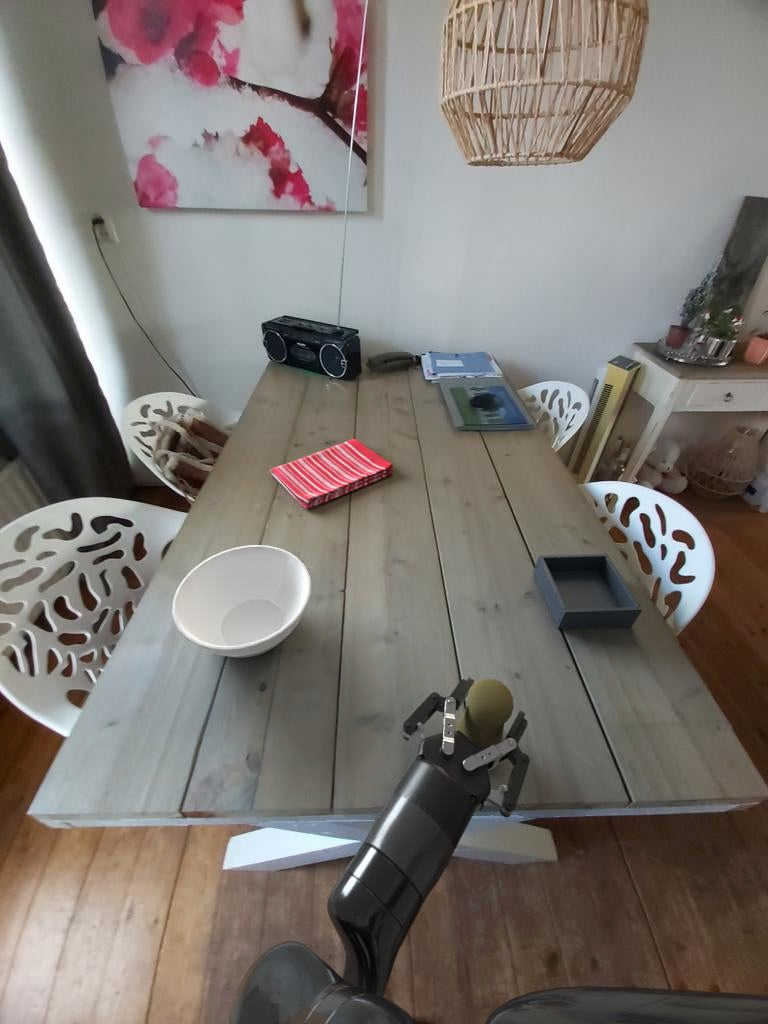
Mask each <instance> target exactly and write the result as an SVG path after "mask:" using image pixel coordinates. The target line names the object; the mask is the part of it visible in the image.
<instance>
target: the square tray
mask: <svg viewBox="0 0 768 1024" xmlns="http://www.w3.org/2000/svg"><path fill="white" fill-rule="evenodd" d="M532 573H533V576H534V578H535V579H536V583H537V585H538V587H539V589H540V591H541V594H542V596H543V599H544V601H545V603H546V606H547V608H548V610H549V613H550V615H551V617H552V619H553V622H554V624H555V627H556V629H557V630H575V629H578V630H579V629H602V628H603V629H604V628H605V629H607V628H631V627H633V626H634V624H635V622H636V621H637V619H639V616H640V615H641V613H642V611H643V609H642V607H641V605H640V604H639V602H638V600H637V599H636V598H635V595H634V594H633V593H632V591H631V589H630V587H629V586H628V585H627V583H626V582H625V580H624V579H623V577H622V575H621V574H620V572H619V570H618V569H617V568H616V565H615V564H614V562H613V561H612V560H611V558H610V556H609V554H608V553H588V554H587V553H586V554H584V553H583V554H547V555H546V554H545V555H542V554H541V555H538V557H537V560H536V563H535V566H534V569H533V571H532Z"/></svg>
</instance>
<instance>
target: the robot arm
mask: <svg viewBox="0 0 768 1024" xmlns="http://www.w3.org/2000/svg"><path fill="white" fill-rule="evenodd" d="M474 683H475V680H474V679H473V678H471V677H470V676H469V677H468V678H467V680H466V679H464V678H462V679H461V680H459V682H458V683H457V685H456V687H454V689H453V691H452V692H451V693H450V695H449V696H443V695H442V696H441V694H440V693H439V692H436V691H433V692H431V693H430V694H429V695H428V697H426V698H425V700H424V701H422V702H421V704H420V705H419V706H418V707H417V708H416V709H415V710H414V711H413V712H412V713H411V714H410V715H409V716H408V718H406V720H405V721H404V722H403V725H402V735H401V736H402V738H403V739H404V740H406V741H411V742H412V744H413V745H415V746H416V747H417V748H418V752H417V755H416V757H415V759H414V760H413V761H412V764H411V765H410V767H409V768H408V769H407V771H406V772H405V774H404V775H403V777H402V778H401V780H400V782H399V783H398V784H397V786H396V787H395V789H394V791H393V792H392V793H391V795H390V797H389V798H388V800H386V803H385V804H384V806H383V807H382V808H381V810H380V811H379V813H378V815H377V816H376V818H375V819H374V821H373V824H372V825H371V827H370V829H369V831H368V833H367V836H366V837H365V839H364V841H363V843H362V844H361V845H360V847H359V848H358V850H357V851H356V853H355V854H354V856H353V857H352V860H350V862H349V864H348V865H347V867H346V868H345V870H344V871H343V873H342V874H341V875H340V877H339V878H338V879H337V881H336V883H335V884H334V887H333V888H332V890H331V892H330V893H329V895H328V899H327V902H326V908H327V909H326V910H327V914H328V917H329V919H330V922H331V924H332V926H333V928H334V929H335V932H336V933H337V935H338V937H339V940H340V942H341V944H342V946H343V947H342V948H343V950H344V953H345V954H344V955H345V960H344V969H343V974H342V976H341V975H340V974H339V973H338V972H337V971H335V969H333V967H331V966H330V965H329V964H328V963H327V962H326V961H324V960H323V958H321V957H320V956H319V955H318V954H317V953H316V952H314V950H312V949H311V948H310V947H308V946H307V945H306V944H304V943H302V942H300V941H296V940H286V941H281V942H279V943H276V944H274V945H272V946H271V947H269V948H267V949H266V950H265V951H263V952H262V953H261V954H260V955H259V956H258V957H257V958H256V959H255V960H254V961H253V962H252V964H251V965H250V966H249V968H248V969H247V971H246V973H245V974H244V975H243V977H242V980H241V981H240V983H239V985H238V986H237V987H238V988H237V990H236V992H235V995H234V998H233V1000H232V1001H233V1002H232V1005H231V1010H230V1014H229V1021H228V1024H418V1022H417V1021H416V1020H415V1019H414V1018H413V1017H412V1016H411V1015H410V1014H409V1012H407V1011H406V1010H405V1009H403V1008H402V1007H401V1006H400V1005H398V1004H397V1003H396V1002H394V1001H392V1000H390V999H388V998H386V997H385V994H386V992H387V989H388V984H389V981H390V977H391V975H392V972H393V968H394V965H395V962H396V959H397V956H398V954H399V951H400V949H401V947H402V946H403V943H404V941H405V939H406V937H407V936H408V934H409V932H410V930H411V928H412V926H413V924H414V923H415V921H416V919H417V917H418V915H419V913H420V912H421V909H422V907H423V905H424V903H426V900H427V899H428V897H429V895H430V894H431V892H432V891H433V890H434V888H435V887H436V886H437V884H438V882H439V881H440V879H441V877H442V876H443V874H444V872H445V870H446V869H447V868H448V866H449V864H450V863H451V859H452V856H453V855H454V853H455V851H456V848H457V847H458V845H459V843H460V841H461V839H462V837H463V835H464V834H465V831H466V830H467V827H468V826H469V823H470V821H472V818H473V816H474V814H475V813H476V810H477V809H478V807H479V806H480V805H482V804H483V803H486V802H487V803H489V804H491V805H492V806H494V807H495V808H497V809H499V813H500V815H501V816H502V817H503V818H510V817H511V816H512V814H513V812H514V810H516V809H515V808H516V807H517V804H518V801H519V797H520V794H521V792H522V788H523V784H524V782H525V779H526V775H527V772H528V769H529V766H530V762H531V759H530V757H529V755H528V754H527V753H525V752H523V751H522V750H521V749H520V746H519V743H520V741H521V739H522V738H523V735H524V733H525V731H526V729H527V727H528V719H526V718H525V716H526V713H525V712H524V711H522V710H519V711H518V713H517V715H516V717H515V719H514V721H513V723H512V724H511V727H510V728H509V730H508V731H507V734H506V735H505V738H504V740H502V742H500V743H498V744H496V745H495V744H494V745H492V746H490V747H488V748H486V749H485V750H482V748H483V747H481V746H480V745H478V744H477V743H475V742H472V741H470V740H469V739H468V738H467V737H466V736H465V735H464V734H463V733H462V732H460V731H459V730H458V731H455V727H456V711H459V709H460V708H461V706H462V705H463V704H464V702H465V701H466V699H467V696H468V692H469V690H470V687H471V686H472V685H473V684H474ZM436 712H439V713H442V723H441V724H442V725H441V733H436V734H433V735H431V736H428V737H424V736H423V735H424V732H425V724H426V723H427V722H428V721H429V720H430V719H431V718H432V717H433V715H434V714H435V713H436ZM507 760H508V761H509V762H510V764H511V765H512V766H513V767H512V770H511V773H510V776H509V779H508V782H507V785H506V784H500V785H499V786H498V788H497V789H492V785H491V779H490V771H492V770H494V769H495V768H497V767H498V765H500V764H502V763H504V762H505V761H507ZM484 1024H768V994H763V993H762V994H760V993H743V992H726V991H724V992H723V991H709V990H708V991H707V990H691V989H675V988H674V989H673V988H654V987H638V986H637V987H635V986H634V987H633V986H600V985H599V986H597V985H593V986H592V985H580V986H579V985H578V986H577V985H576V986H561V987H552V988H546V989H540V990H535V991H531V992H527V993H524V994H522V995H518V996H516V997H513V998H511V999H509V1000H508V1001H506V1002H504V1003H503V1004H502V1005H500V1006H498V1007H496V1008H495V1009H494V1010H493V1011H492V1012H491V1014H490V1015H488V1017H487V1019H486V1021H485V1022H484Z"/></svg>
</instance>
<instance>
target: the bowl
mask: <svg viewBox="0 0 768 1024" xmlns="http://www.w3.org/2000/svg"><path fill="white" fill-rule="evenodd" d="M311 593H312V580H311V576H310V573H309V570H308V568H307V567H306V565H305V564H304V563H303V562H302V561H301V560H300V559H299V557H297V556H295V554H293V553H291V552H289V551H287V550H285V549H283V548H279V547H275V546H271V545H262V544H261V545H260V544H251V545H244V546H236V547H233V548H229V549H227V550H223V551H221V552H219V553H216V554H214V555H212V556H210V557H208V558H207V559H205V560H202V561H201V562H200V563H199V564H198V565H196V566H195V567H194V568H193V569H191V570H190V571H189V573H187V575H185V577H184V578H183V579H182V581H181V583H180V584H179V585H178V587H177V589H176V591H175V594H174V597H173V599H172V607H171V608H172V609H171V612H172V618H173V622H174V625H175V626H176V628H177V630H178V632H179V633H180V634H181V635H182V636H183V637H184V638H185V639H186V640H188V642H189V641H190V642H191V643H192V644H194V645H196V646H197V647H199V648H201V649H202V650H205V651H206V652H208V653H210V654H213V655H217V656H221V657H229V658H240V659H241V658H250V657H255V656H259V655H262V654H264V653H267V652H269V651H270V650H272V649H274V648H276V647H278V645H279V644H281V643H282V642H283V641H285V639H286V638H287V637H289V635H291V633H292V632H293V631H294V629H296V628H297V626H298V625H299V623H300V621H301V619H302V617H303V615H304V614H305V612H306V609H307V606H308V604H309V601H310V598H311Z"/></svg>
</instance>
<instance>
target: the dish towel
mask: <svg viewBox="0 0 768 1024" xmlns="http://www.w3.org/2000/svg"><path fill="white" fill-rule="evenodd" d="M393 469H394V466H393V463H391V462H390V461H389V460H387V459H385V458H383V457H382V456H380V455H379V454H378V453H376V452H375V451H373V450H372V449H370V447H369V448H368V446H366V445H365V444H364V443H362V442H361V441H360V440H359V439H356V438H352V439H349V440H347V441H345V442H343V443H340V444H337V445H334V446H332V447H329V448H326V449H324V450H320V451H318V452H315V453H312V454H310V455H307V456H305V457H301V458H299V459H296V460H293V461H291V462H288V463H285V464H281V465H278V466H276V467H273V468H270V469H269V472H270V473H271V475H272V477H274V478H275V479H276V480H277V482H278V483H279V484H280V485H282V486H283V488H285V490H286V491H287V492H288V493H289V494H290V495H291V496H292V498H293V499H295V500H296V501H297V503H298V504H300V505H301V506H302V507H303V508H304V509H305V510H306V511H308V510H311V509H313V508H316V507H318V506H320V505H323V504H326V503H328V502H329V501H331V500H334V499H337V498H339V497H341V496H344V495H346V494H349V493H351V492H354V491H357V490H359V489H362V488H364V487H366V486H368V485H371V484H373V483H376V482H378V481H380V480H383V479H386V478H387V477H390V476H392V475H393V471H392V470H393Z"/></svg>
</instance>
